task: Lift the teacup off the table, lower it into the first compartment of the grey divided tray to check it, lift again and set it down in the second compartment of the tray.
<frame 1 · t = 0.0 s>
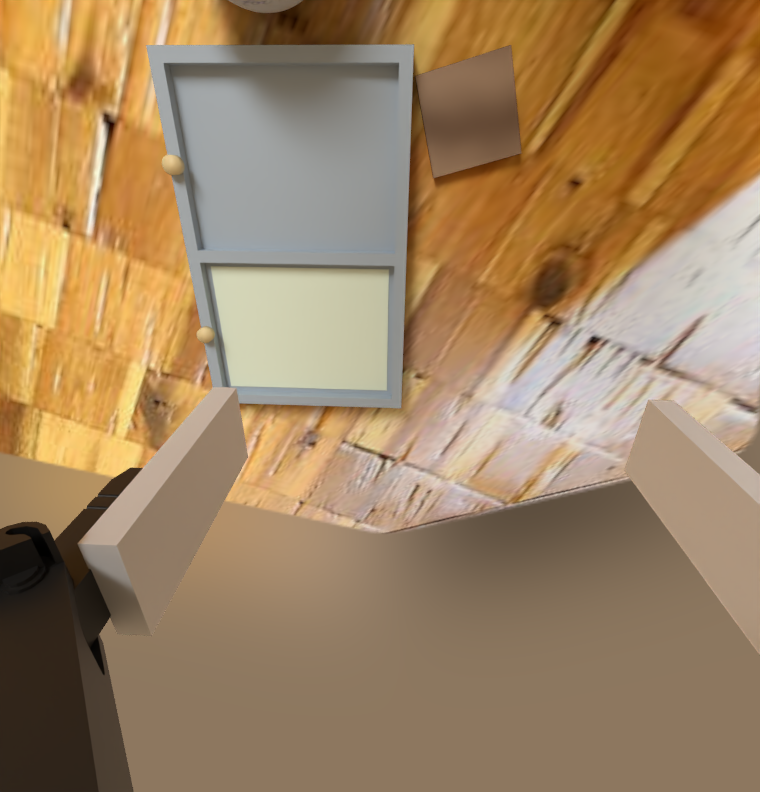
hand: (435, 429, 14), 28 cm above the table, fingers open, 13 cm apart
grey divided tray: (301, 253, 39), on the table
walnut coaster: (467, 117, 34), on the table
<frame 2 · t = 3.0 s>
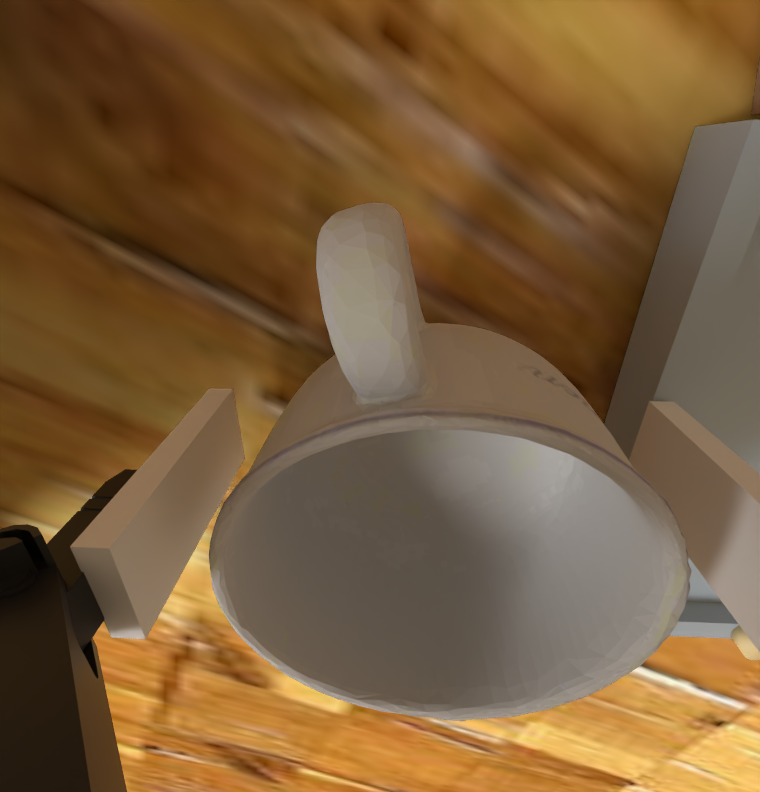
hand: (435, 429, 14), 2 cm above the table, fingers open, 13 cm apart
teacup: (420, 390, 16), on the table
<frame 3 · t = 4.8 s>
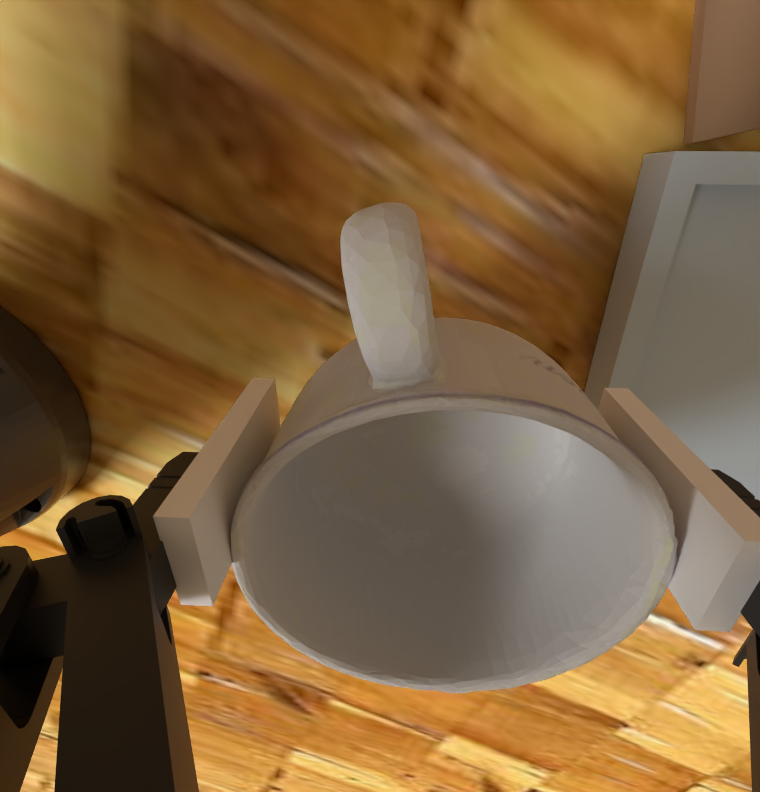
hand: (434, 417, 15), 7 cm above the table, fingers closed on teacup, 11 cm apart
teacup: (422, 382, 17), point 4 cm above the table, touching gripper
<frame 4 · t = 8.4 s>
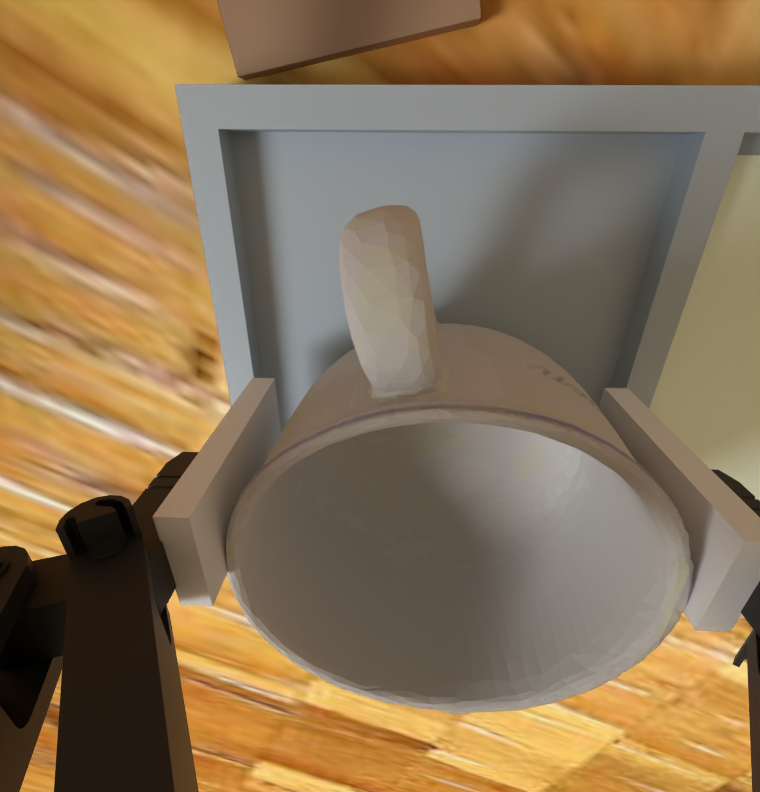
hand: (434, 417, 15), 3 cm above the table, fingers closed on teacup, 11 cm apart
grey divided tray: (607, 385, 17), on the table
teacup: (429, 390, 17), point 1 cm above the table, touching gripper, grey divided tray
when the fingers open (3 cm above the table, at t = 14.2 s): teacup stays where it is, resting on grey divided tray.
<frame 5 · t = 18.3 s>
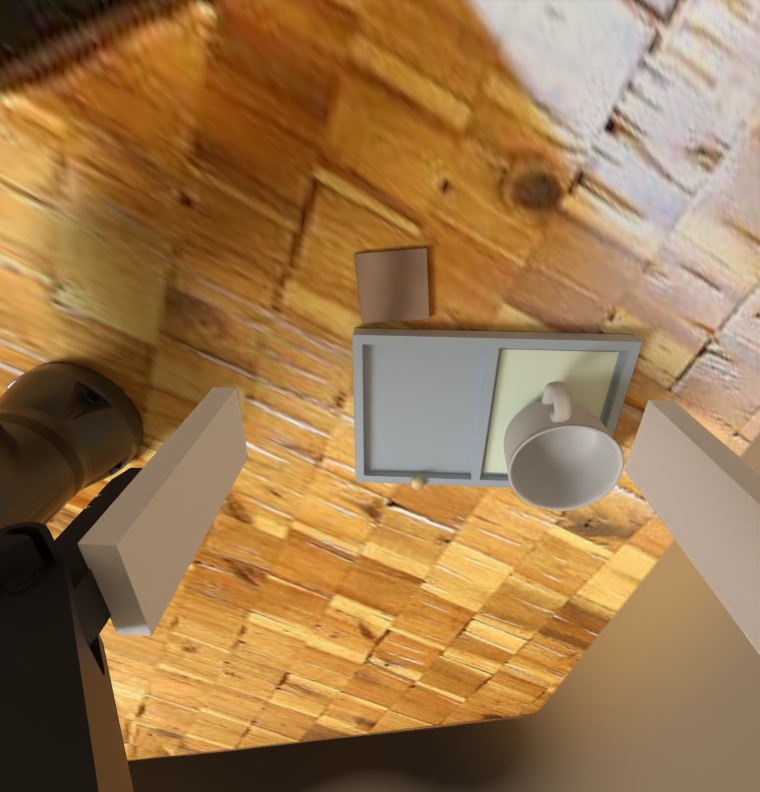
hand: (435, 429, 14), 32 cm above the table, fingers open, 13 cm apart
grey divided tray: (481, 409, 50), on the table
teacup: (544, 415, 49), point 1 cm above the table, touching grey divided tray
walnut coaster: (393, 284, 44), on the table
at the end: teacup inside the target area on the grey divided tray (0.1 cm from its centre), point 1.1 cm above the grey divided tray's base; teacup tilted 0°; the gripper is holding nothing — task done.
